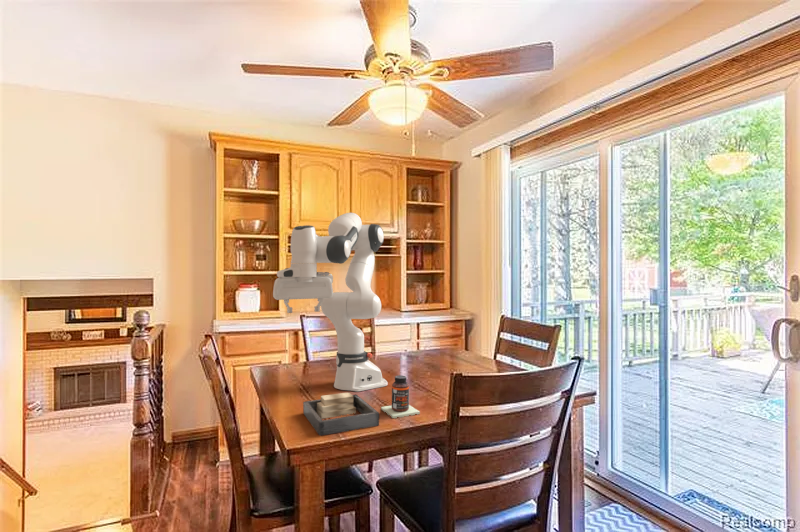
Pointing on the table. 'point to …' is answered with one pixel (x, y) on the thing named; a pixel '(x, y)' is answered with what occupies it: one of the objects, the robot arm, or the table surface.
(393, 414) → the mat
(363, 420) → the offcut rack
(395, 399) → the supplement bottle
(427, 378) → the table surface
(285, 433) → the table surface
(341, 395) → the offcut stack
